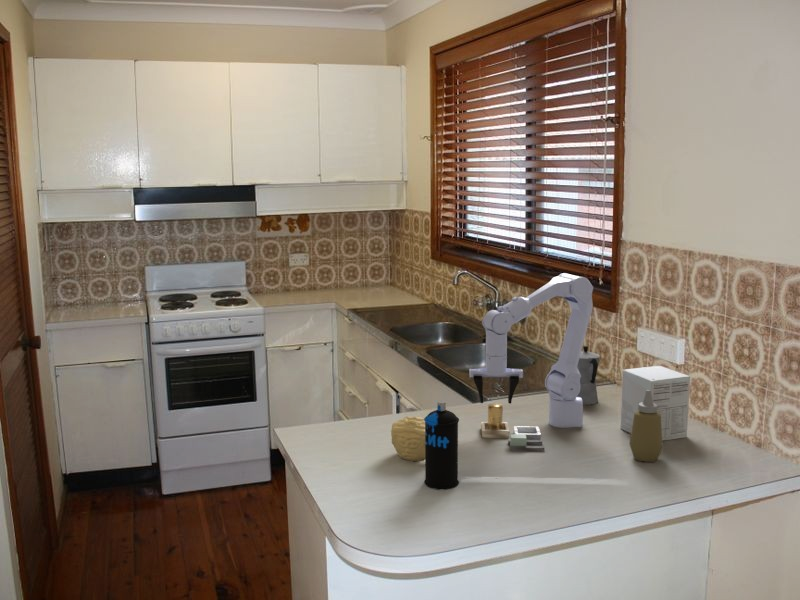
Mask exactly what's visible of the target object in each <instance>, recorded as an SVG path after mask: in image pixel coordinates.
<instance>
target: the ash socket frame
mask: <svg viewBox="0 0 800 600" xmlns="http://www.w3.org/2000/svg"><path fill="white" fill-rule="evenodd" d="M480 423H481V424H480V431H481V437H482V438H495V439H496V438H498V439H499V438H500V439H501V438H502V439H503V438H505V439H507V438H510V434H511V433H510V432H511V431H510V427H509V422H508V421H502V430H488V421H481V422H480Z"/></svg>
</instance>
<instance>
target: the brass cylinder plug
mask: <svg viewBox="0 0 800 600" xmlns="http://www.w3.org/2000/svg"><path fill="white" fill-rule="evenodd" d="M503 407H504V406H503V404H502V403H493V402H492V403H489V404H488V405H487V422H488V429H487V430H502V422H503V417H504V416H503V415H504V413H503V411H504V409H503Z"/></svg>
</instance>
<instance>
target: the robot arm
mask: <svg viewBox="0 0 800 600" xmlns="http://www.w3.org/2000/svg"><path fill="white" fill-rule="evenodd" d="M593 291H594V286H593V285H592V283H591V282H590V280H589V279H588V278H587V277H585V276H579V275H574V274H570V273H567V272H563V273H560V274H559V275H557V276H554V277H552V278H551V280H550V281H548V282H547V283H546V284H544V285H543V286H541V287H540V288H538V289H537V290H535V291H533V292H532V293H531V294H529V295H528V296H526V297H523V296H514V297H512V298H511V301H509V302H508V303H506V304H504V305H500V306H498V307H497V309H491V310H489V311H487V312H486V314H485V315H484V317H483V320H481V323H482V326H483V328H484V329H485V367H480V368H469V378H473V382H474V385H475V387H476V389H477V392H478V395H479V401H480V404H484V394H483V392H484V391H483V390H484V389H483V386H484V382H483V381H484V380H483V379H484V378H508V393H507V394H508V395H507V402H508V404H510V405H511V404H512V400H513V398H514V397H513V396H514V393H515V390H516V389H517V386H518V384H519V383H520V379H523V378H524V370H523V369H521V368H520V369H519V368H509V367H508V368H507V364H508V362H507V361H508V360H507V359H508V355H507V354H508V351H507V350H508V333H509V331H510V330H511V328H512V326H513V325H514V324H516V323H518V322H519V321H520V322H521V320H523V319H525V318H527V317H528V316H530V315H531V313H532V309H534V308H535V307H538V306H539V305H541V304H543V303H545V302H548V301H549V300H551V299H553V298H556V297H562V298H563V299H565V301H566V302H567V304H568V305H569V306H570V308H571V311H570V315H569V319H568V323H567V326H566V329H565V334H564V338H563V341H562V344H561V349H560V353H559V356H558V360H557V362H555V363H554V364H552V365H551V368H550V371H549V372H548V373H547V375H546V376H545V380H544V386H545V388H546V389H547V390H548V396H549V397H548V398H549V401H548V404H549V405H548V425H550V426H552V427H555V428H563V429H564V428H583V422H584V421H583V420H584V405H583V401H582V398H581V397H577V396H578V394H579V392H580V378H581V375H580V372H579V370H578V368H577V365H578V361H579V357H580V354H581V351H582V350H583V346H584V342H585V338H586V335H587V330H588V327H589V323H590V319H591V316H592V313H593V308H594V305H593V297H592V296H593Z"/></svg>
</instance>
